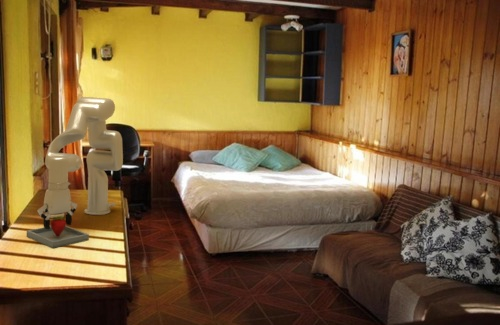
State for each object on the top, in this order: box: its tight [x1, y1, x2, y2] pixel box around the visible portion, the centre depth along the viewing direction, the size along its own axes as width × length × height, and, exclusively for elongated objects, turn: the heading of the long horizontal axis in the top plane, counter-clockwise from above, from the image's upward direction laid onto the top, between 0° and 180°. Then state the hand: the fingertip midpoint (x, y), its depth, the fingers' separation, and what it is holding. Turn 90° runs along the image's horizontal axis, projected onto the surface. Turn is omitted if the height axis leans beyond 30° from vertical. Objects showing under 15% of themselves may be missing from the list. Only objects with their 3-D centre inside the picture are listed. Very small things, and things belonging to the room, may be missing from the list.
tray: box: [26, 225, 90, 249], centre depth 198 cm, size 16×20×2 cm
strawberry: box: [50, 214, 67, 236], centre depth 198 cm, size 6×8×10 cm
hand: (57, 226), depth 198 cm, fingers open, 9 cm apart
